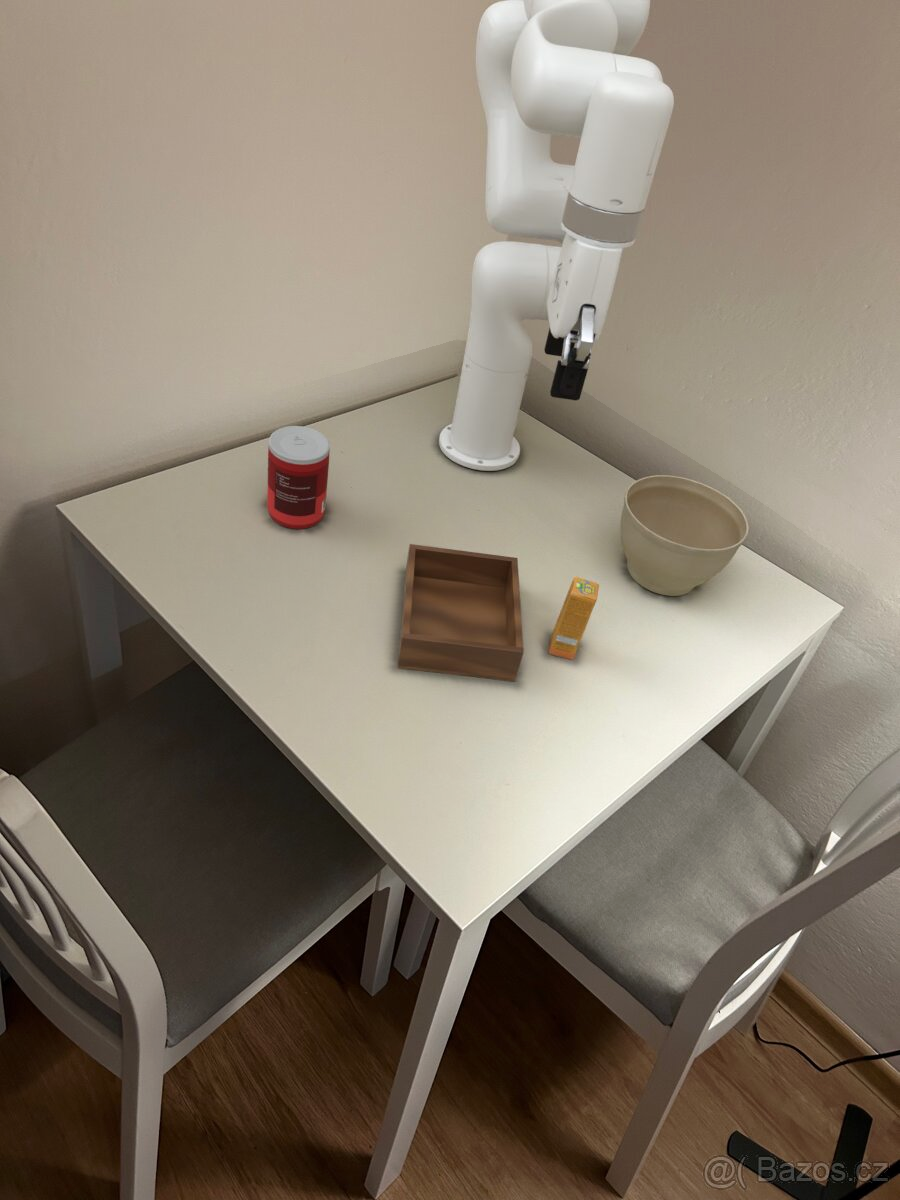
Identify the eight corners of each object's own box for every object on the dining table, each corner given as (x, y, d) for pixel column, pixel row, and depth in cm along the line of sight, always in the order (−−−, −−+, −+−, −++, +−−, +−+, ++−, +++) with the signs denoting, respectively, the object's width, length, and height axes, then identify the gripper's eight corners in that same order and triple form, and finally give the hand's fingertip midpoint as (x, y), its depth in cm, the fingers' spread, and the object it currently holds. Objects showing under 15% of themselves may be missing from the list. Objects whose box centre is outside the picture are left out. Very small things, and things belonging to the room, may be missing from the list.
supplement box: (575, 661, 107) (597, 600, 100) (547, 654, 107) (567, 592, 100) (578, 643, 109) (600, 582, 103) (550, 636, 110) (570, 574, 103)
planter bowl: (743, 599, 121) (774, 536, 114) (649, 626, 114) (677, 560, 107) (670, 528, 131) (695, 466, 123) (580, 548, 124) (601, 484, 116)
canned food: (305, 488, 124) (309, 420, 117) (336, 521, 120) (342, 451, 113) (255, 503, 120) (256, 432, 113) (285, 536, 116) (288, 465, 108)
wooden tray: (404, 573, 114) (409, 543, 111) (509, 586, 115) (517, 557, 112) (397, 667, 102) (402, 637, 98) (514, 681, 103) (523, 652, 100)
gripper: (557, 183, 94) (523, 335, 105) (571, 245, 81) (531, 410, 93) (627, 195, 95) (586, 344, 106) (651, 258, 82) (602, 420, 93)
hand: (560, 375), depth 99 cm, fingers open, 9 cm apart
